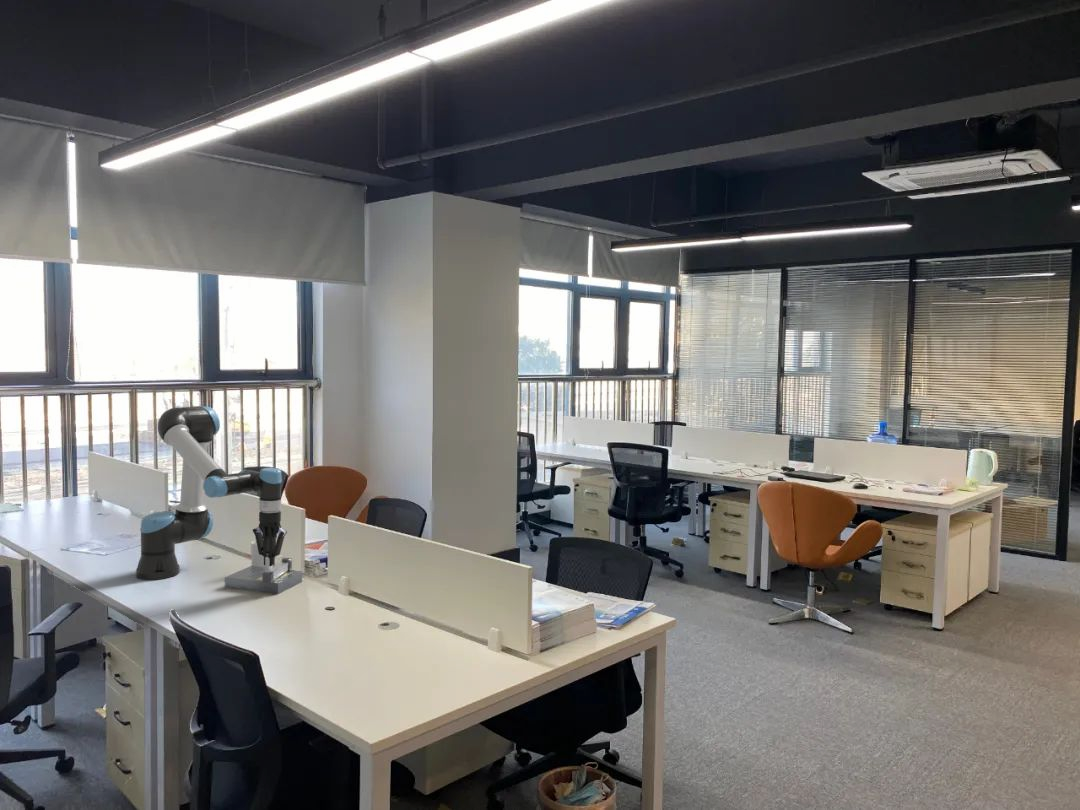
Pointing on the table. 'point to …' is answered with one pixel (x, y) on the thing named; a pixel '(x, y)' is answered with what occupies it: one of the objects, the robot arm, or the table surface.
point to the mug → (256, 556)
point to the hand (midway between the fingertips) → (269, 574)
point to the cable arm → (277, 570)
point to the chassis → (253, 580)
